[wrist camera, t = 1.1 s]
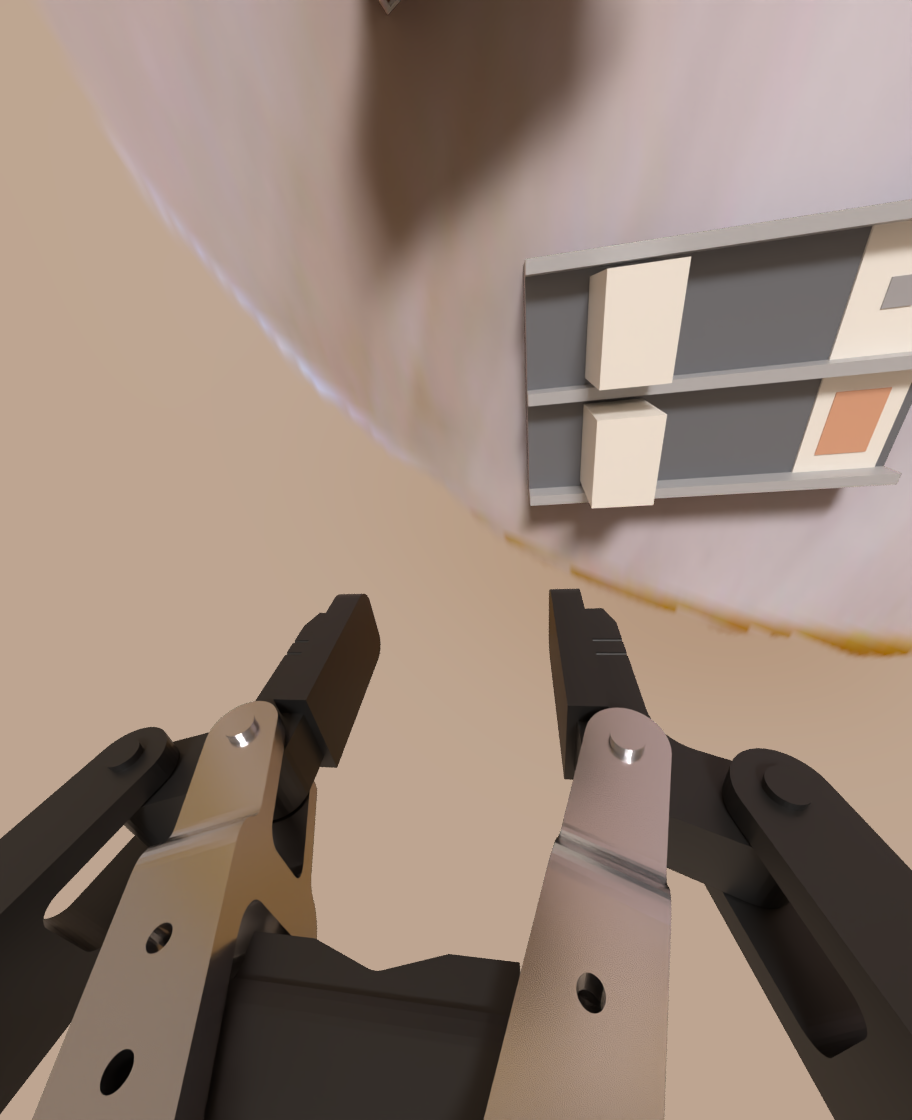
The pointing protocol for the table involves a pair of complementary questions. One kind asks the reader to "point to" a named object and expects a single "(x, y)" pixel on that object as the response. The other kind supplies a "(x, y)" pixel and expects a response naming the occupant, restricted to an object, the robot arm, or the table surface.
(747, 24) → the table surface
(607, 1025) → the robot arm
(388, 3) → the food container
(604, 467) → the far tab
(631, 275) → the near tab
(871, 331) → the switch panel
